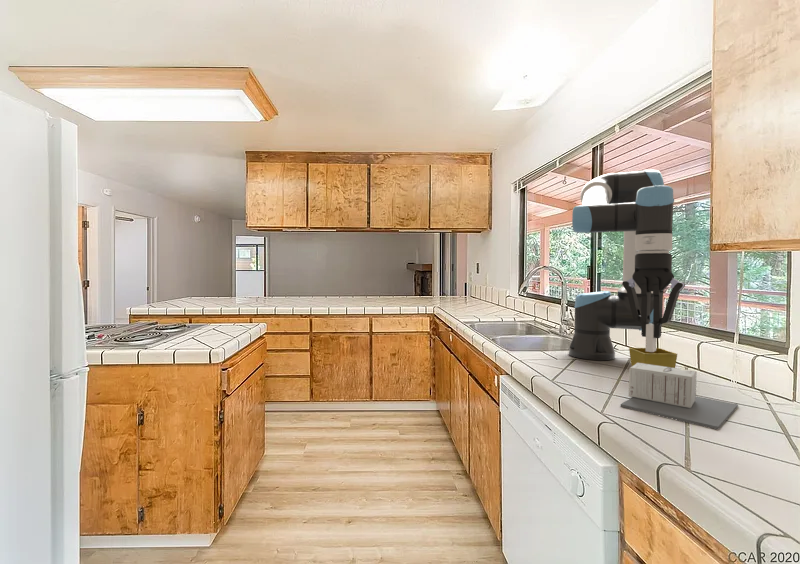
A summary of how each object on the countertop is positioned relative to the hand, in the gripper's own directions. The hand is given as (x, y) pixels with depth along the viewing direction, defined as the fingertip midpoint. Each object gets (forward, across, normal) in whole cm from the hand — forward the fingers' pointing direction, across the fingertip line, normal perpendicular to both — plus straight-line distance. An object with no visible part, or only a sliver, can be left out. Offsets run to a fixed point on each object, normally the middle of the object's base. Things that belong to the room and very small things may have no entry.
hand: (650, 350), depth 98 cm
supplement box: (+8, -4, 0) cm, 9 cm away
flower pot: (+12, -5, +18) cm, 22 cm away
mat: (+12, +6, 0) cm, 13 cm away
